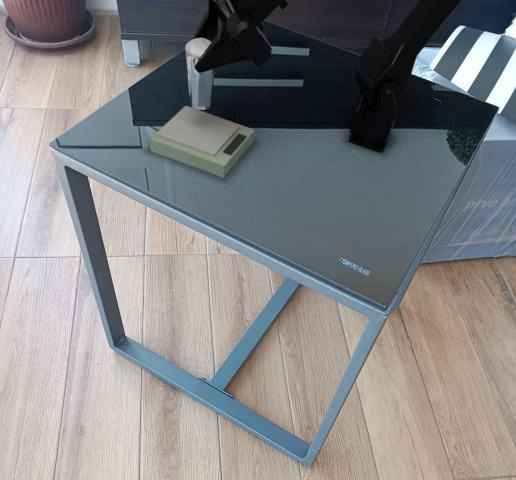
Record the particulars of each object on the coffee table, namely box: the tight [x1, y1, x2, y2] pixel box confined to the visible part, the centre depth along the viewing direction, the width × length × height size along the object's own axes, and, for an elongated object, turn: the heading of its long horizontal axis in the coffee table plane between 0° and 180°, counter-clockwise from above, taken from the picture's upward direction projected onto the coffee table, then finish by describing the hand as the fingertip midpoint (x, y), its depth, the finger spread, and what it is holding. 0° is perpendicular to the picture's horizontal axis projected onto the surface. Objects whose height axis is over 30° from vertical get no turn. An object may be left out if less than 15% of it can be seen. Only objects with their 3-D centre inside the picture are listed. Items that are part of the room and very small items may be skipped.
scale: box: [149, 105, 256, 179], centre depth 81 cm, size 13×12×3 cm
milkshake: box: [184, 38, 216, 111], centre depth 73 cm, size 4×5×10 cm
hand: (193, 61), depth 71 cm, fingers closed on milkshake, 5 cm apart
